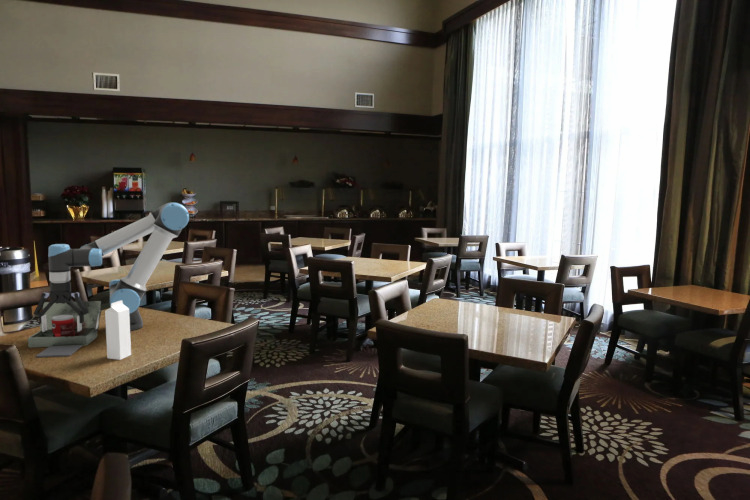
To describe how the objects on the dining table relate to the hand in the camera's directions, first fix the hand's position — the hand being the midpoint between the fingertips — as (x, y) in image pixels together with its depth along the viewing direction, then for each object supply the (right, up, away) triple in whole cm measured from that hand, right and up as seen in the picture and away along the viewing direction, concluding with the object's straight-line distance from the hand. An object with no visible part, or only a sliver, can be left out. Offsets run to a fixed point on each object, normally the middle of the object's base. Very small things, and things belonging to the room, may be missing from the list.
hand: (62, 330), depth 212 cm
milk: (+32, -8, -16) cm, 37 cm away
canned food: (0, -5, +1) cm, 5 cm away
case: (0, -5, +3) cm, 6 cm away
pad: (+6, -7, -11) cm, 14 cm away
